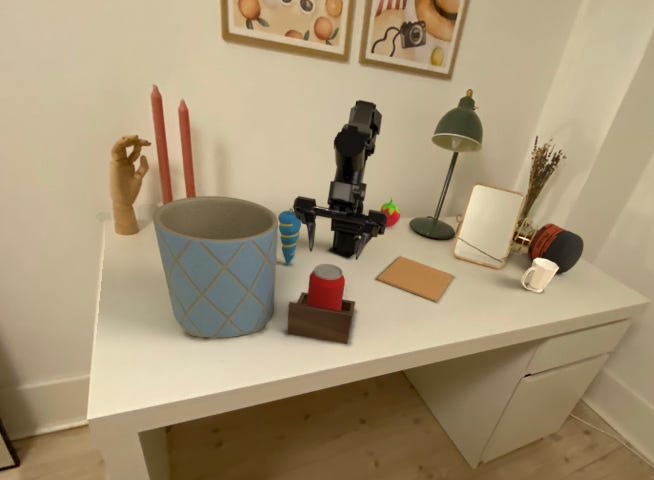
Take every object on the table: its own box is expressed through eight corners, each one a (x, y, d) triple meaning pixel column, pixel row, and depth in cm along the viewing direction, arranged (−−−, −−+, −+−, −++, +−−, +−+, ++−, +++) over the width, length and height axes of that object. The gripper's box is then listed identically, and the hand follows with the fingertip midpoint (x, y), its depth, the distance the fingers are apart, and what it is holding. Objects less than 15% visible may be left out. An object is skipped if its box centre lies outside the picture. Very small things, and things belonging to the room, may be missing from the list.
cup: (552, 294, 106) (564, 269, 102) (526, 297, 102) (538, 271, 97) (534, 281, 111) (546, 257, 107) (509, 283, 107) (520, 258, 102)
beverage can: (344, 318, 79) (351, 269, 72) (330, 336, 74) (336, 283, 67) (315, 308, 80) (320, 258, 74) (299, 324, 75) (303, 272, 68)
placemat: (377, 279, 95) (377, 277, 95) (400, 258, 108) (400, 256, 108) (436, 302, 91) (436, 300, 91) (452, 276, 104) (453, 274, 104)
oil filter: (544, 257, 129) (561, 221, 121) (575, 274, 121) (595, 237, 114) (521, 261, 122) (537, 224, 114) (552, 280, 114) (572, 241, 107)
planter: (173, 289, 77) (158, 193, 66) (269, 285, 84) (270, 198, 73) (167, 349, 63) (145, 240, 52) (283, 339, 70) (286, 241, 59)
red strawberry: (385, 231, 121) (391, 201, 116) (374, 222, 126) (379, 193, 121) (400, 231, 124) (406, 201, 119) (389, 222, 129) (395, 193, 124)
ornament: (273, 264, 92) (274, 205, 84) (285, 257, 96) (287, 200, 88) (291, 271, 91) (293, 212, 83) (302, 263, 95) (306, 206, 87)
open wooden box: (301, 301, 81) (302, 273, 78) (353, 310, 82) (358, 283, 78) (287, 334, 72) (288, 304, 68) (347, 344, 73) (351, 315, 69)
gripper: (297, 153, 70) (280, 230, 67) (395, 172, 71) (383, 249, 68) (304, 184, 81) (289, 251, 78) (389, 200, 82) (378, 267, 79)
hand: (333, 255), depth 75 cm, fingers open, 9 cm apart
